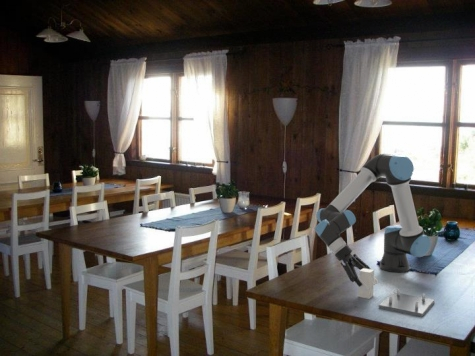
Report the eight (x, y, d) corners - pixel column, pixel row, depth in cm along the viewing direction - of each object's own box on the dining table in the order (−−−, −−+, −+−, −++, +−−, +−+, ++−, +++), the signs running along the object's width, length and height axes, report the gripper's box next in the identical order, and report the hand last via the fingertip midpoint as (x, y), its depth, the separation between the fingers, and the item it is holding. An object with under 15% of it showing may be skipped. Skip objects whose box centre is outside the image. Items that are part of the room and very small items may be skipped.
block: (362, 293, 247) (363, 268, 246) (373, 295, 245) (374, 269, 243) (358, 296, 243) (359, 270, 242) (369, 298, 241) (370, 272, 239)
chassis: (393, 295, 245) (393, 285, 245) (434, 302, 235) (434, 292, 235) (378, 308, 229) (379, 298, 228) (422, 317, 219) (422, 306, 218)
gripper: (345, 249, 261) (374, 285, 254) (324, 260, 240) (355, 299, 234) (355, 239, 257) (386, 276, 250) (335, 250, 237) (368, 290, 230)
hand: (371, 287), depth 242 cm, fingers open, 12 cm apart
